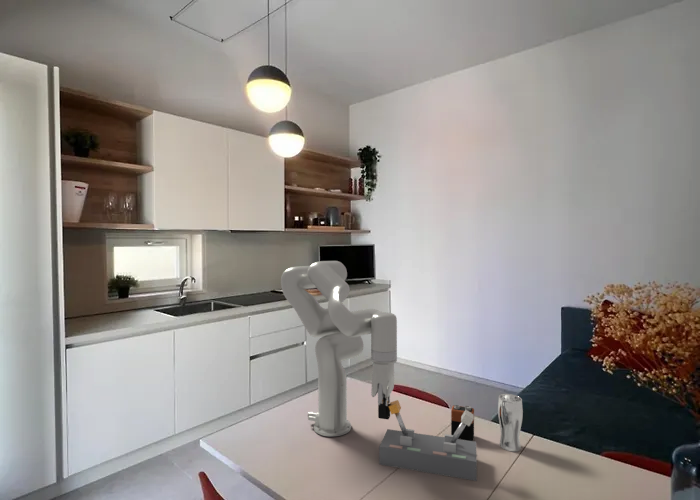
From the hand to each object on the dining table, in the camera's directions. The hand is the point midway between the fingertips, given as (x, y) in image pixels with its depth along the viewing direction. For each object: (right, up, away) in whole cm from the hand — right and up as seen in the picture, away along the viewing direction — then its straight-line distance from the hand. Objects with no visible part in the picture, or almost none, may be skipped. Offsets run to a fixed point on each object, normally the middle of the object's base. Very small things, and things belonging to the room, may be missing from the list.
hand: (384, 417), depth 114 cm
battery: (+26, -11, +11) cm, 30 cm away
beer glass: (+39, -11, +5) cm, 41 cm away
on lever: (+18, -5, -5) cm, 20 cm away
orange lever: (+6, -5, -2) cm, 9 cm away
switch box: (+12, -11, -4) cm, 17 cm away
